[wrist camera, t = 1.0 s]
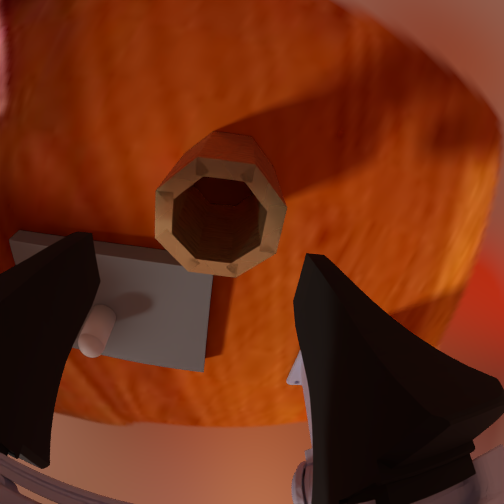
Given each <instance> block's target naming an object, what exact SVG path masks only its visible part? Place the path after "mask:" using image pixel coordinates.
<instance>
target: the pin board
mask: <svg viewBox="0 0 504 504" xmlns="http://www.w3.org/2000/svg"><path fill="white" fill-rule="evenodd" d="M63 238H64V236H57V235H50V234H43V233H36V232H29V231H22V230H19V231H18V232H16V233H15V234H14V235H13V236H12V237H11V238H10V239H9V243H10V246H11V250H12V254H13V258H14V261H15V264H16V265H17V264H19V263H21V262H22V261H24V260H26V259H28V258H30V257H31V256H33V255H35V254H36V253H38V252H40V251H41V250H43V249H45V248H46V247H48V246H50V245H52V244H53V243H55V242H57V241H59V240H61V239H63ZM93 242H94V248H95V254H96V260H97V265H98V271H99V276H100V280H101V282H100V285H99V288H98V291H97V294H96V296H95V299H94V302H93V305H92V307H91V309H90V311H89V313H88V315H87V317H86V319H85V321H84V323H83V325H82V327H81V329H80V332H79V334H78V336H77V338H76V340H75V342H74V344H73V346H72V347H73V348H77V349H80V351H81V352H82V353H83V354H84V355H85V356H87V357H91V358H94V357H98V356H99V355H105V356H110V357H114V358H119V359H124V360H129V361H134V362H139V363H145V364H150V365H156V366H162V367H169V368H175V369H182V370H190V371H198V372H204V362H205V351H206V340H207V330H208V319H209V309H210V300H211V290H212V281H213V275H211V274H203V273H195V272H188V271H187V270H186V269H185V268H184V267H183V266H182V265H181V264H180V263H179V262H178V261H177V260H176V259H175V258H174V257H173V256H172V255H171V254H170V253H169V252H168V251H167V250H160V249H153V248H145V247H138V246H130V245H123V244H115V243H108V242H100V241H93Z"/></svg>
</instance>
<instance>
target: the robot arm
mask: <svg viewBox="0 0 504 504" xmlns="http://www.w3.org/2000/svg"><path fill="white" fill-rule="evenodd" d="M100 282H101V280H100V276H99V271H98V265H97V260H96V254H95V248H94V242H93V236H92V233H86V232H76V233H73V234H71V235H68V236H66V237H64V238H63V239H61V240H59V241H57V242H55V243H53V244H52V245H50V246H48V247H46V248H45V249H43V250H41V251H40V252H38V253H36V254H35V255H33V256H31V257H30V258H28V259H26V260H24V261H22V262H21V263H19V264H17V265H16V266H14V267H12V268H10V269H9V270H7V271H5V272H3V273H1V274H0V504H41V503H39V502H36V501H34V500H32V499H30V498H28V497H26V496H24V495H22V494H20V493H19V491H18V489H17V486H16V485H15V483H16V484H18V485H20V486H22V487H24V488H26V489H28V490H30V491H32V492H34V493H36V494H38V495H40V496H42V497H45V498H47V499H49V500H51V501H54V502H56V503H58V504H132V503H128V502H124V501H120V500H116V499H112V498H109V497H105V496H102V495H98V494H95V493H92V492H89V491H86V490H83V489H80V488H77V487H74V486H71V485H69V484H66V483H64V482H61V481H58V480H56V479H54V478H51V477H49V476H46V475H44V474H42V473H40V472H37V471H35V470H33V469H31V468H29V467H27V466H25V465H23V464H21V463H19V462H17V461H15V460H13V459H11V458H9V457H8V456H7V455H8V454H9V455H10V456H12V457H14V458H16V459H18V458H20V459H22V460H24V461H26V462H28V463H30V464H33V465H34V466H36V467H39V468H41V469H44V468H46V467H48V466H49V465H50V439H51V428H52V420H53V413H54V407H55V402H56V397H57V393H58V388H59V384H60V380H61V377H62V373H63V370H64V366H65V363H66V361H67V358H68V355H69V353H70V351H71V349H72V346H73V344H74V342H75V340H76V338H77V336H78V334H79V332H80V329H81V327H82V325H83V323H84V321H85V319H86V317H87V315H88V313H89V311H90V309H91V307H92V305H93V302H94V299H95V296H96V294H97V291H98V288H99V285H100ZM293 304H294V316H295V327H296V331H297V336H298V341H299V345H300V351H299V354H298V356H297V358H296V360H295V363H294V365H293V367H292V369H291V371H290V373H289V376H288V378H287V384H290V385H302V386H303V392H304V398H305V405H306V411H307V418H308V424H309V431H310V438H311V444H312V448H311V449H308V450H306V451H305V456H306V461H303V462H301V463H300V464H299V466H298V467H297V469H296V472H295V473H294V476H293V479H292V499H293V504H504V447H503V445H501V444H500V445H498V446H497V447H495V448H493V449H491V450H489V451H488V452H486V453H484V454H482V455H480V456H479V457H477V458H475V459H474V460H472V459H471V457H470V453H471V452H473V451H474V450H475V446H474V443H473V439H474V438H475V437H477V436H478V435H479V434H481V433H482V432H483V431H484V430H486V429H487V428H488V427H489V426H490V425H492V424H493V423H494V422H495V421H496V420H497V419H498V418H499V417H500V416H501V415H502V414H503V413H504V389H503V387H502V385H501V384H500V382H499V381H498V379H497V378H495V377H492V376H489V375H487V374H485V373H483V372H481V371H478V370H476V369H474V368H471V367H468V366H467V365H465V364H463V363H461V362H459V361H457V360H455V359H453V358H451V357H450V356H448V355H446V354H444V353H443V352H441V351H439V350H437V349H436V348H434V347H433V346H431V345H430V344H428V343H427V342H425V341H423V340H422V339H420V338H419V337H417V336H416V335H414V334H413V333H412V332H410V331H409V330H408V329H406V328H405V327H404V326H402V325H401V324H400V323H398V322H397V321H396V320H394V319H393V318H392V317H391V316H389V315H388V314H387V313H386V312H385V311H384V310H382V309H381V308H380V307H379V306H378V305H377V304H376V303H374V302H373V301H372V300H371V299H370V298H369V297H368V296H367V295H366V294H365V293H364V292H362V291H361V290H360V289H359V288H358V287H357V286H356V285H355V284H354V283H353V282H352V281H351V280H350V279H349V278H348V277H347V276H346V275H345V274H344V273H343V272H342V271H341V270H340V269H339V268H338V267H337V266H336V265H335V264H334V263H333V262H332V261H330V260H329V259H328V258H327V257H326V256H325V255H319V254H309V253H306V256H305V260H304V264H303V268H302V271H301V275H300V279H299V282H298V286H297V289H296V293H295V297H294V300H293ZM14 482H15V483H14Z"/></svg>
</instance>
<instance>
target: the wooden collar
mask: <svg viewBox="0 0 504 504" xmlns="http://www.w3.org/2000/svg"><path fill="white" fill-rule="evenodd" d="M203 176H205V177H214V178H221V179H229V180H236V181H244V182H245V183H246V185H247V186H248V187H249V188H250V190H251V191H252V192H253V194H252V195H250V196H249V197H247V198H246V199H244V200H243V201H241V202H240V203H238V204H237V205H235V206H229V205H222V204H214V203H209V202H208V201H207V199H206V198H205V197H204V196H203V195H202V194H201V192H200V191H199V190H198V189H197V188H196V187H195V185H194V183H195V182H196V181H198V180H199V179H200V178H202V177H203ZM286 210H287V206H286V203H285V200H284V197H283V194H282V191H281V188H280V185H279V182H278V179H277V176H276V174H275V171H274V168H273V165H272V164H271V162H270V161H269V160H268V158H267V157H266V156H265V154H264V153H263V152H262V150H261V149H260V147H259V146H258V145H257V143H256V142H255V141H254V139H253V138H252V137H251V136H246V135H239V134H231V133H224V132H216V131H213V132H212V133H210V134H209V135H208V136H206V137H205V138H204V139H202V140H201V141H200V142H199V143H197V144H196V145H195V146H193V147H192V148H191V149H190V150H188V151H187V152H186V153H185V154H184V155H183V156H182V157H181V158H180V160H179V161H178V162H177V163H176V165H175V166H174V167H173V169H172V170H171V171H170V172H169V174H168V175H167V176H166V178H165V179H164V180H163V182H162V183H161V184H160V186H159V187H158V188H157V190H156V202H155V239H156V240H157V241H158V242H159V243H160V244H161V245H162V246H163V247H164V248H165V249H166V250H167V251H168V252H169V253H170V254H171V255H172V256H173V257H174V258H175V259H176V260H177V261H178V262H179V263H180V264H181V265H182V266H183V267H184V268H185V269H186V270H187V271H188V272H195V273H203V274H211V275H219V276H227V277H235V278H236V277H237V276H239V275H241V274H242V273H244V272H246V271H247V270H249V269H251V268H252V267H254V266H256V265H257V264H259V263H261V262H262V261H264V260H266V259H267V258H269V257H271V256H272V255H274V254H276V251H277V247H278V243H279V239H280V235H281V231H282V226H283V222H284V218H285V214H286Z"/></svg>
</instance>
